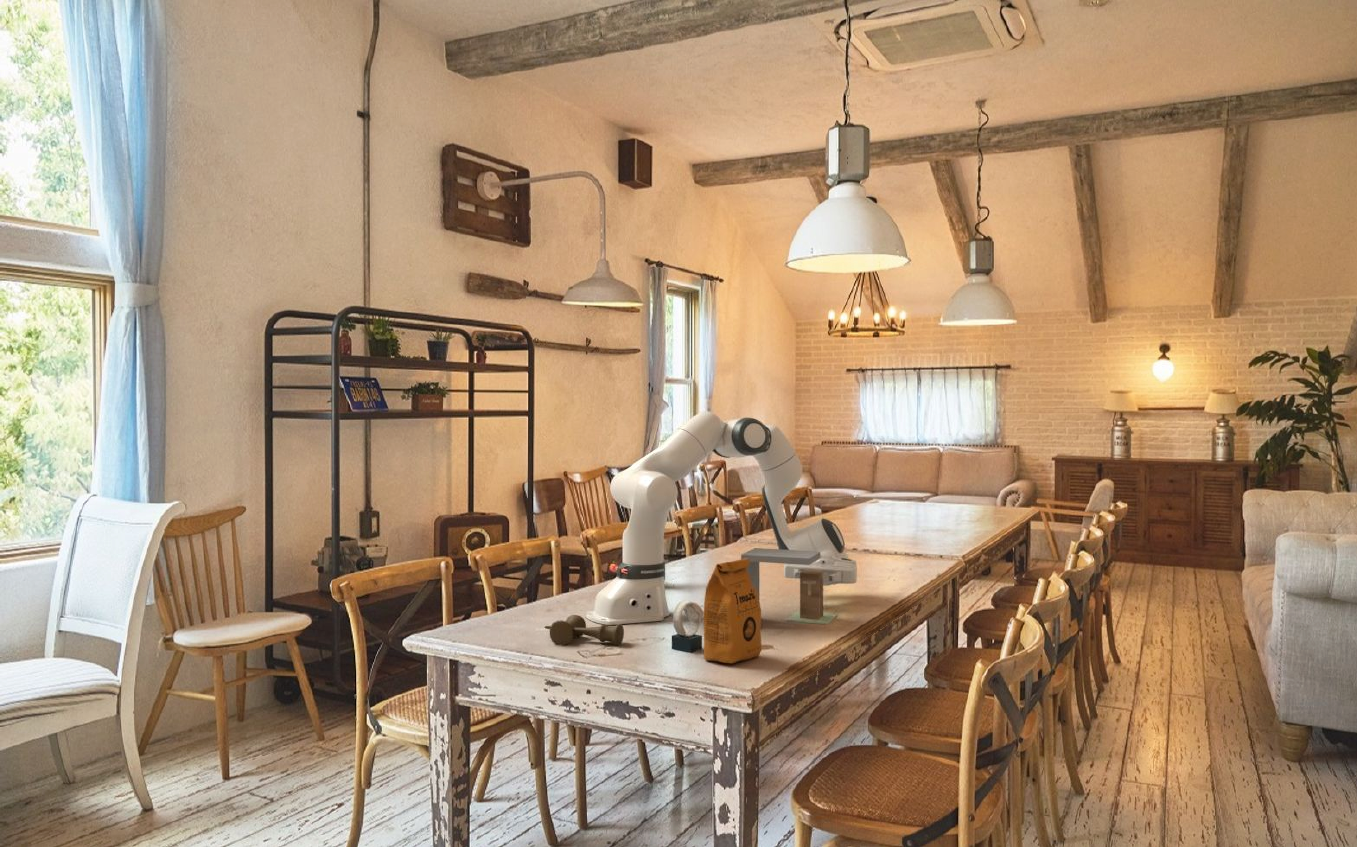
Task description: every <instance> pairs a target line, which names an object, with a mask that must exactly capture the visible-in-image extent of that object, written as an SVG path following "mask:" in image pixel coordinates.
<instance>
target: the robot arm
mask: <svg viewBox="0 0 1357 847" xmlns="http://www.w3.org/2000/svg"><path fill="white" fill-rule="evenodd" d="M710 453H714V454H715V455H717V456H719V457H721V458H724V459H727V458H728V459H729V458H736V459H739V458H745V457H748V456H749V457H751V456H752V457H753V458H754V459H755V460H756V461H757V463H758V465H759V468H760V469H761V471H762V473H763V476H764V485H763V487H762V489H761V494H762V499H763V500H762V501H763V502H764V506H765V509H766V512H767V516H768V519H769V521H770V522H769V523H770V525H771V528H772V531H773V534H774V537H775V540H776V543H777V544H776V545H777V547H778V548H777V549H781V550H799V551H817V552H820V558H819V559H818V560H816V561H815V562H813V563H812V564H810V565H800V564H784V565H783V577H784V578H786V579H795V580H797V579H799V580H800V572H802V571H803V570H819V571H823V587H825V586H831V585H838V584H841V585H842V584H843V585H844V584H847V585H848V584H856V583H857V582H858V581H857V580H858V579H857V578H858V566H857V561H856V560H854V559H850V557H849V555H848V554H847V552H846V551H845V540H844V537H843V535H842V532H841V531H840V529H839V527H838V526H837V524H836V523H834V522H833V521H831V520H829V519H828V518H820V519H817V520H815V521H812V522H811V523H808V524H807V525H804V526H802V527H799V528H797V529H794V530H791V529H790V528H789V526H788V522H787V520H786V517H785V514H784V511H783V508H782V504H783V503H782V502H783V501H784V499H785V498H787V496H788V495H789V494H790V493H791V492H792V491H793V490H794V489H795V487H797V485H798V484H799V482H800V481H801V478H802V475H803V466H802V462H801V460H800V457H799V456H798V455H797V452H796V451H795V449H794V447H793V446H792V444H791V442H790V441H789V439H788V438H787V436H786V435H785V434H784V433H783V431H782V430H781V429H780V428H779V427H778V426H777V425H775V424H768V425H767V424H766V425H765V424H764V423H763V422H762V421H760V420H759V419H756V418H753V417H742V418H741V417H740V418H732V419H728V420H722V419H721V418H720V417H719V416H718V415H717V414H716V413H713V412H712V411H707V410H703V411H699V413H697V414H695V415H694V416H692V417H691V418H689V419H688V420H687V421H685V422H684V423H682V425H680V426H679V428H677V429H676V430H675V431H674V432H673V433H672V434H671V435H669V437H668V438H667V439H665V440H664V441H663V442H662V443H661V444H660V445H659V446H658V447H656V448H655V449H654V450H653V451H652V452H649V454H646V455H645V456H644V457H642V458H641V459H639V460H638V461H636V462H635V463H633V464H632V465H630V466H629V467H628V468H626V469H623V470H622V471H619V472H618V473H616V474H615V475H614V476H613V478H612V479H611V482H610V485H609V490H610V494H611V497H612V498H613V499H614V501H615V502H616V503H617V504H619V505H620V506H621V507H623V508H625V509H630V515H629V521H628V523H627V526H626V528H625V529H624V531H623V533H622V562H620V564H619V565H618V564H614V563H611V564H610V565H609V571H611V572H613V573H616V577H615V578H614V579H612V580H611V581H610V582H609V583H608V584H607V585H606V586H605V587H604V588H602V589H601V590H600V591H599V592H598V593H597V594H596V597H595V601H594V608H593V610H591V611H587V612H586V619H587V620H589V621H591V622H594V623H597V624H599V625H603V624H606V625H607V626H613V625H614V626H616V625H618V624H622V625H624V624H625V625H626V624H635V623H636V624H637V623H648V622H660V621H664V619H665V618H666V617H668V616H669V615H671V613H670V609H669V607H668V602H667V595H666V590H665V589H666V588H665V580H666V562H665V560H664V546H665V545H664V540H665V539H664V538H665V528H666V524H667V520H668V516H669V515H670V514H669V513H670V511H671V509H672V508H673V507H674V506H675V505H676V502H677V499H678V494H679V493H678V492H679V490H678V486H677V483H676V482H678V481H680V480H682V479H685V478H686V477H687V476H689V475H690V474H691V472H693V470H694V469H695V468H697V467H698V465H700V463H701V462H703V461H704V460H705V459H706V458H707V457H708V455H709V454H710Z"/></svg>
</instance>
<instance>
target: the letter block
mask: <svg viewBox="0 0 1357 847" xmlns="http://www.w3.org/2000/svg"><path fill="white" fill-rule="evenodd" d="M799 600H800V601H799V611H800V618H805V619H817V620H819V619H820V618H821V617H822V616H823V613H824V586H823V571H819V570H803V571H802V572H800V579H799Z"/></svg>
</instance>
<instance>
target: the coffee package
mask: <svg viewBox="0 0 1357 847" xmlns="http://www.w3.org/2000/svg"><path fill="white" fill-rule="evenodd" d="M749 565H750V562H749V560H748V558H746V559H741V558H740V559H737V560H732V561H726V562H720V563H717V564H715V567H714V569H713V572H712V573H711V577H710V579H709V580H708V582H707V585H706V588H705V594H704V604H703V643H704V644H703V655H704V657H703V659H704V660H705V661H709V662H718V663H722V664H734V663H737V662H742V661H748V660H750V659H753V658H758V657H759V656H760V654H761V652H762V630H761V628H762V627H761V623H762V609H761V608H762V607H761V603H760V597H759V598H758V596H757V593H756V590H755V588H754V586H753V585H752V583H751V580H750V577H749V574H748V571H747V570H746V567H748V566H749Z"/></svg>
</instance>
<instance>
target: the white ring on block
mask: <svg viewBox="0 0 1357 847" xmlns="http://www.w3.org/2000/svg"><path fill="white" fill-rule="evenodd" d="M683 612H684V614H685V615H686V616H687V618H688V620H689V621H690V622H691V623H690V626H689V628H688V630H687V631H686V630H685V627H684V625H683V621H682V619H681V618H682V613H683ZM672 615H673V616H672V624H673V628H674V630H675V632H676V634H673V635H671V650H674V651H680V652H684V653H690V654H691V653H695V652H697V651H700V650H703V635H699V634H697V632H698V631H699V629H700V625H701V623H702V620H703V617H704V609H702V607H701V606H700V605H699V604H698V603H697V602H695V601H691V600H688V601H687V600H683V601H679V602H678V604H676V607H675V608H674V610H673V614H672Z"/></svg>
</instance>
